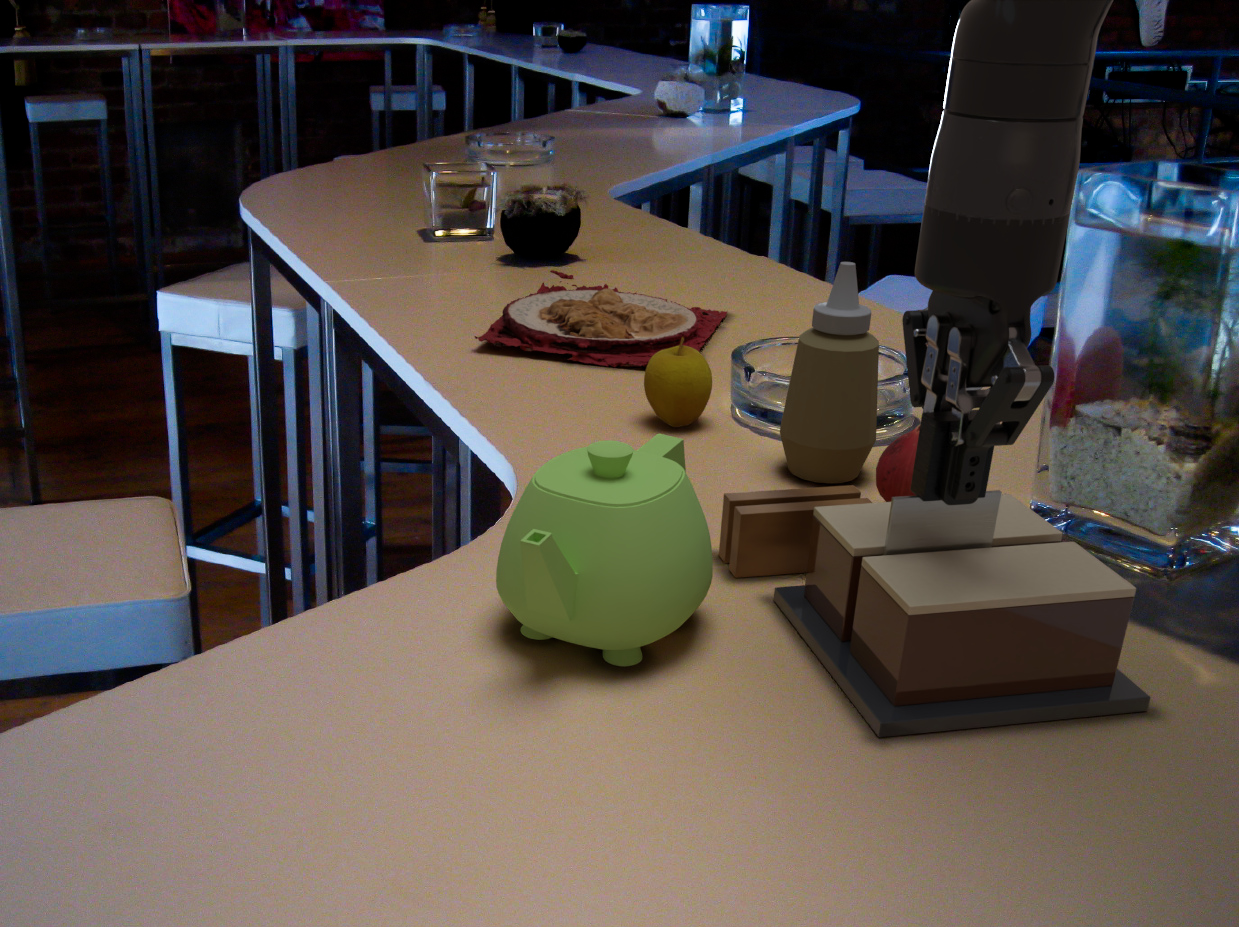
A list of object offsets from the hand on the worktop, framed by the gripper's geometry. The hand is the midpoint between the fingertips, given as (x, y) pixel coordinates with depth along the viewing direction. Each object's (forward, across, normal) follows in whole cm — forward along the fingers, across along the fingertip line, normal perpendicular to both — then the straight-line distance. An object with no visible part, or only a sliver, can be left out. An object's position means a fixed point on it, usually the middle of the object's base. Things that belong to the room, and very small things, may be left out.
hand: (947, 493), depth 76 cm
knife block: (+11, +14, +3) cm, 18 cm away
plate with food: (+11, +75, +2) cm, 76 cm away
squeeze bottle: (+11, +30, -6) cm, 33 cm away
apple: (+11, +44, +3) cm, 46 cm away
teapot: (+11, +7, +19) cm, 23 cm away
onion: (+11, +20, -9) cm, 25 cm away
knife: (+7, 0, 0) cm, 7 cm away
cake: (+11, 0, -2) cm, 11 cm away
